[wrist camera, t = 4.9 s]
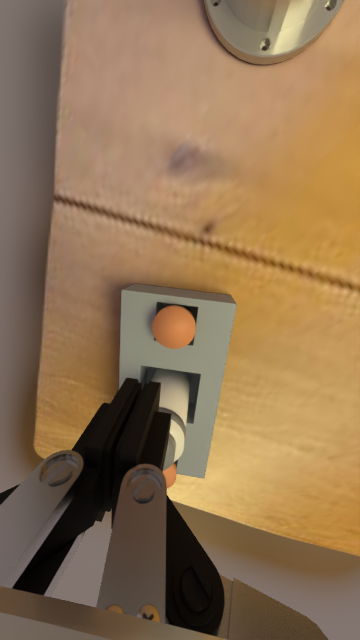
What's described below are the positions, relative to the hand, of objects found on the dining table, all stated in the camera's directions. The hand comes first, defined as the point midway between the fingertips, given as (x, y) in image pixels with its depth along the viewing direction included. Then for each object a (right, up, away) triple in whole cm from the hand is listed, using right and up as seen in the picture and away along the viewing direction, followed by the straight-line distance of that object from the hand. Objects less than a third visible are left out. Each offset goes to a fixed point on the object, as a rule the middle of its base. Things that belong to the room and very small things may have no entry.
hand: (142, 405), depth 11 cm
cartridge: (+1, -4, +20) cm, 20 cm away
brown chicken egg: (+2, +5, +16) cm, 17 cm away
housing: (+1, -3, +20) cm, 21 cm away
